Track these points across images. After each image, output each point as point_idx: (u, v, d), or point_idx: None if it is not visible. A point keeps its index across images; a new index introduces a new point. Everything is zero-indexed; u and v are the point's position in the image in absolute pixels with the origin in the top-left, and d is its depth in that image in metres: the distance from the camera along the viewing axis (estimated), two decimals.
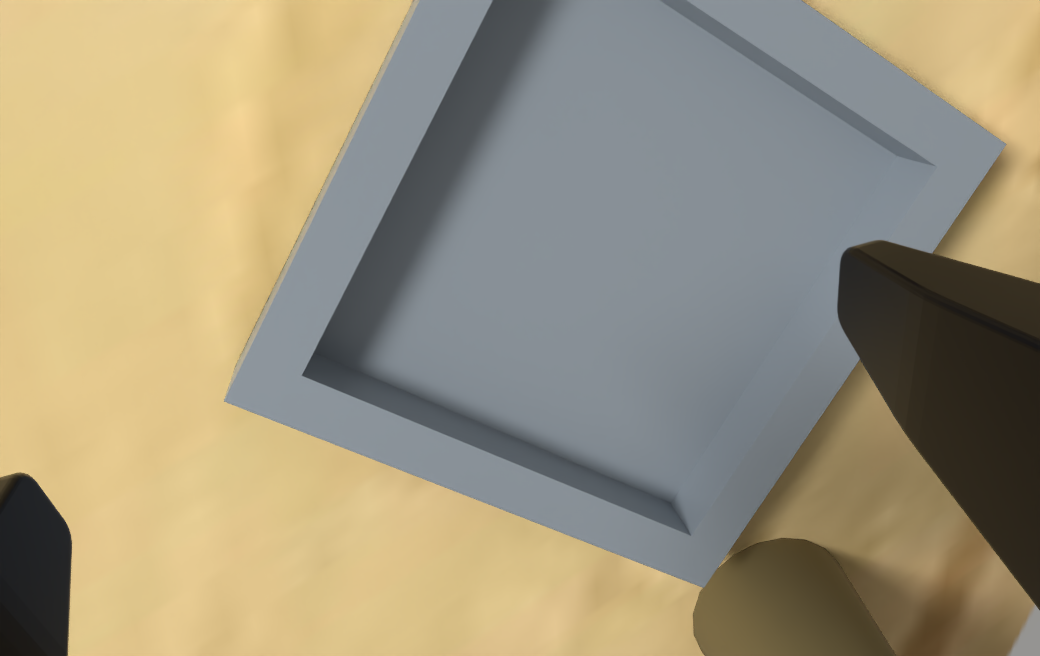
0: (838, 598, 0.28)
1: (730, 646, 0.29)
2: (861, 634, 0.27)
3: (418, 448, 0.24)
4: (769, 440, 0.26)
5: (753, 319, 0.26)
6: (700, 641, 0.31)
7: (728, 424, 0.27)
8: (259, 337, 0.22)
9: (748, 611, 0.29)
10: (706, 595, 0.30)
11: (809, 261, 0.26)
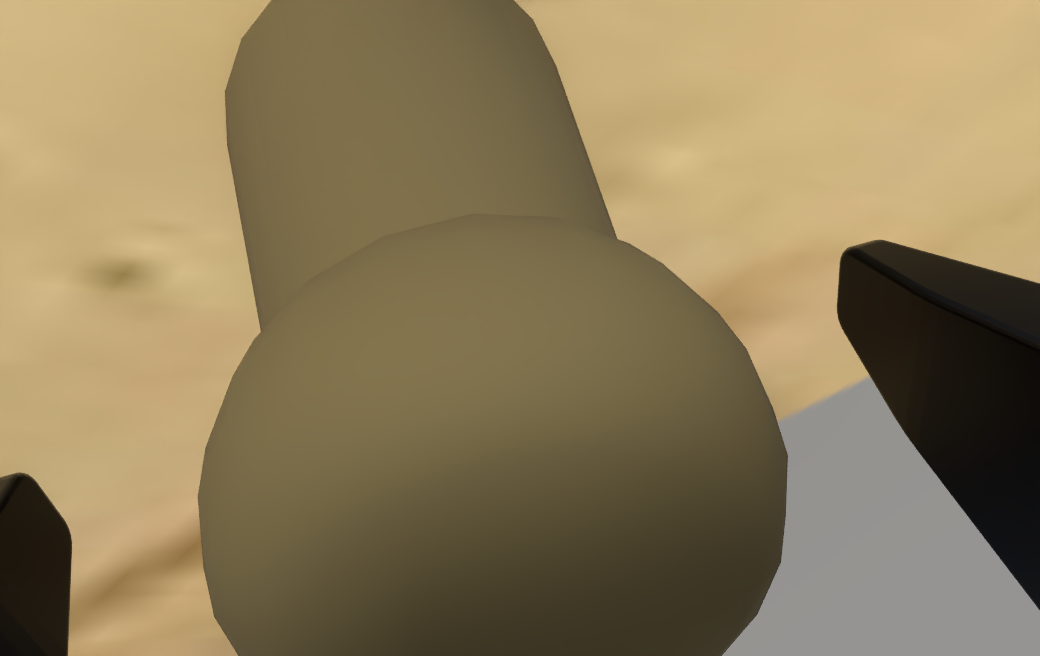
0: (575, 125, 0.13)
1: (318, 31, 0.12)
2: (592, 171, 0.12)
3: None
4: None
5: None
6: (246, 46, 0.13)
7: None
8: None
9: (410, 0, 0.12)
10: None
11: None
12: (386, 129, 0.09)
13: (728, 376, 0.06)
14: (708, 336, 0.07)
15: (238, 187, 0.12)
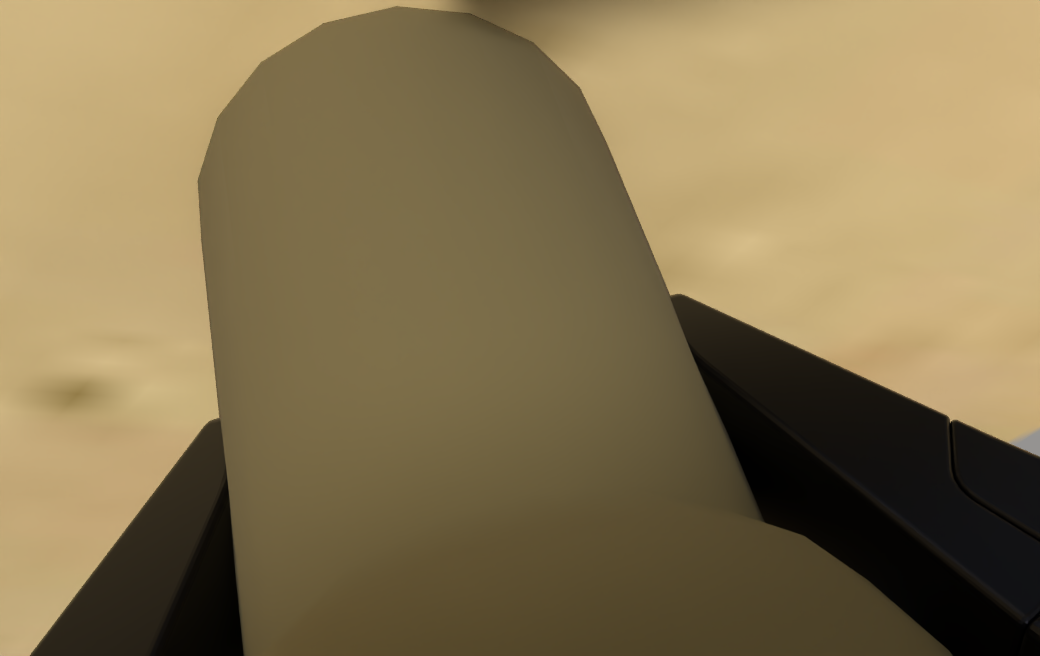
0: (643, 233, 0.10)
1: (313, 124, 0.09)
2: None
3: None
4: None
5: None
6: (223, 129, 0.11)
7: None
8: None
9: (433, 83, 0.09)
10: (337, 30, 0.10)
11: None
12: (411, 298, 0.07)
13: None
14: None
15: None
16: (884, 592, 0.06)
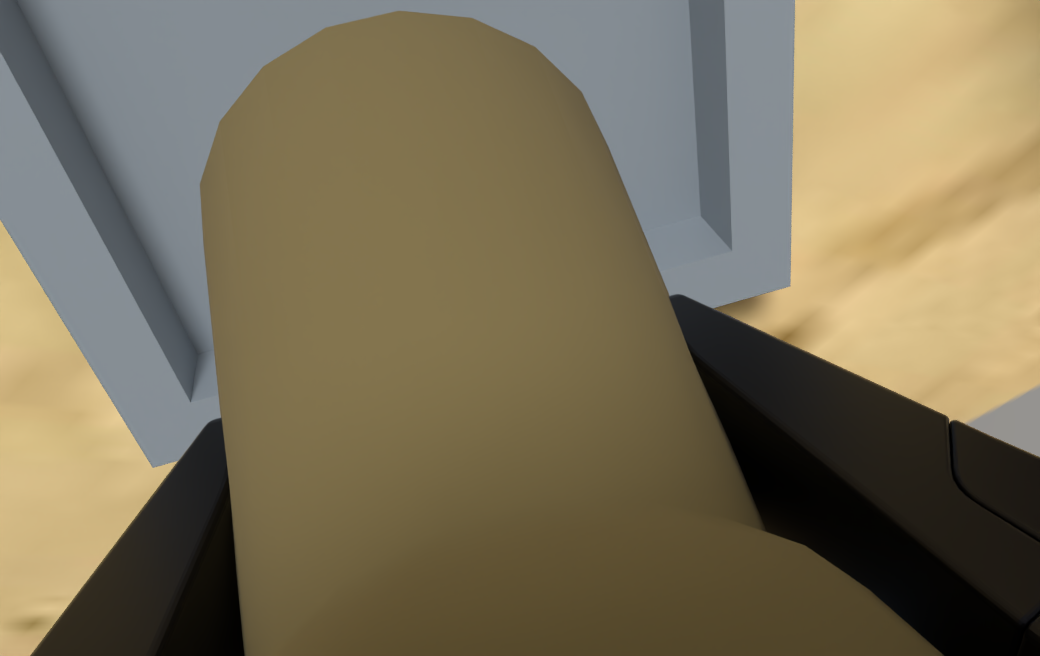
0: None
1: (315, 129, 0.09)
2: None
3: None
4: None
5: None
6: (225, 133, 0.11)
7: None
8: None
9: (435, 88, 0.09)
10: (339, 34, 0.10)
11: None
12: (413, 304, 0.07)
13: None
14: None
15: (212, 326, 0.10)
16: (883, 593, 0.06)
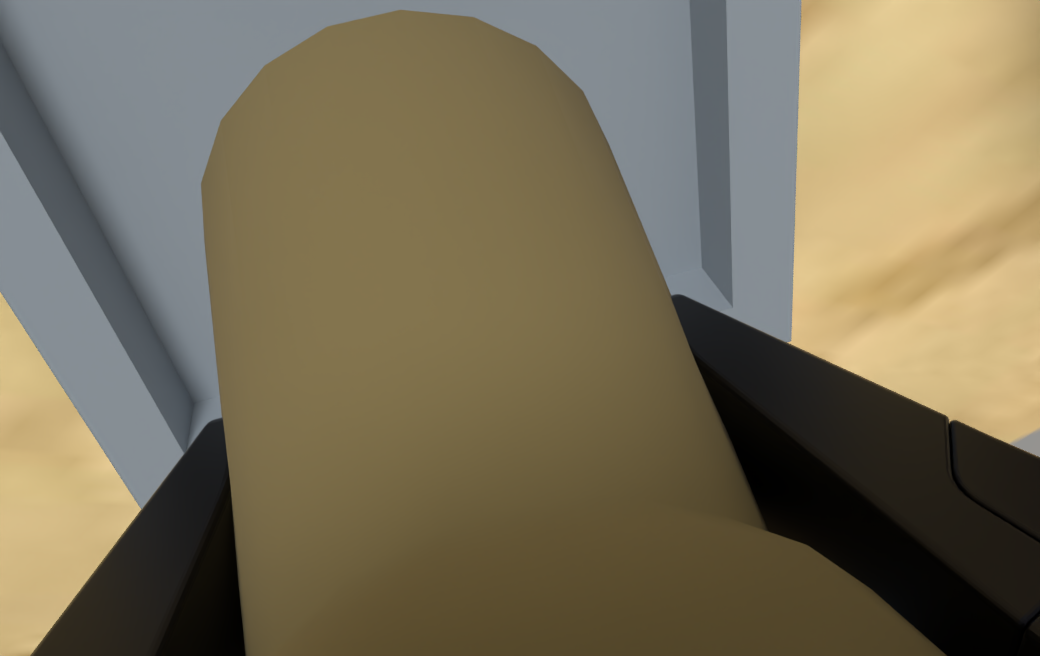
0: (647, 238, 0.10)
1: (317, 127, 0.09)
2: None
3: None
4: None
5: None
6: (226, 133, 0.11)
7: None
8: None
9: (436, 87, 0.09)
10: (340, 34, 0.10)
11: None
12: (414, 304, 0.07)
13: None
14: None
15: (213, 325, 0.10)
16: (884, 593, 0.06)
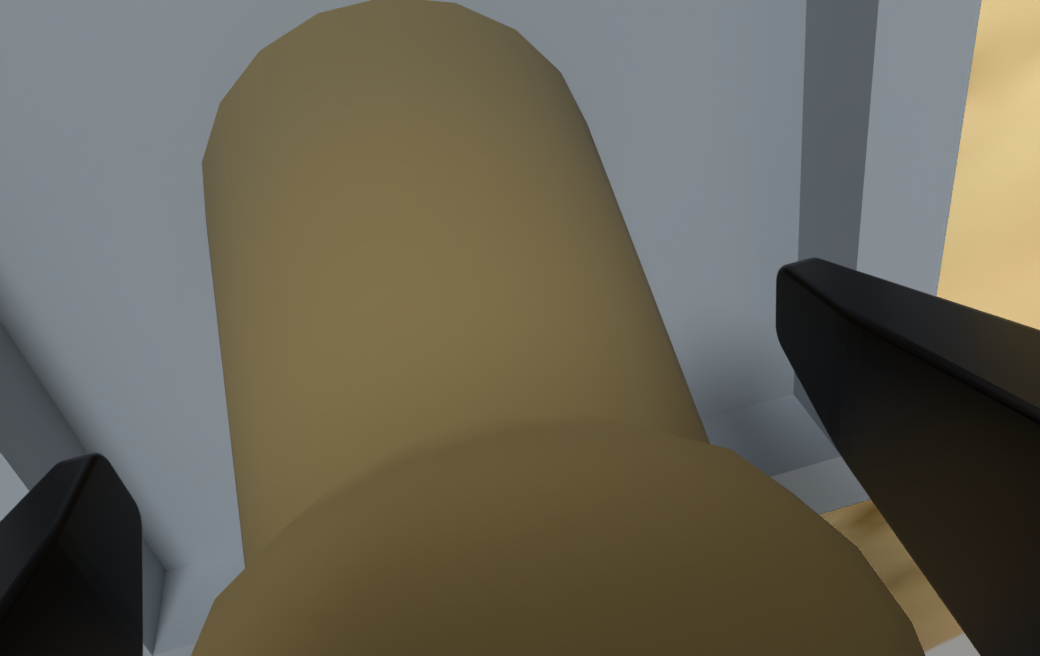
0: (618, 207, 0.11)
1: (308, 105, 0.10)
2: (644, 274, 0.10)
3: None
4: None
5: None
6: (225, 113, 0.11)
7: None
8: None
9: (419, 66, 0.10)
10: (330, 19, 0.11)
11: None
12: (393, 255, 0.07)
13: None
14: (875, 639, 0.04)
15: (214, 290, 0.10)
16: None
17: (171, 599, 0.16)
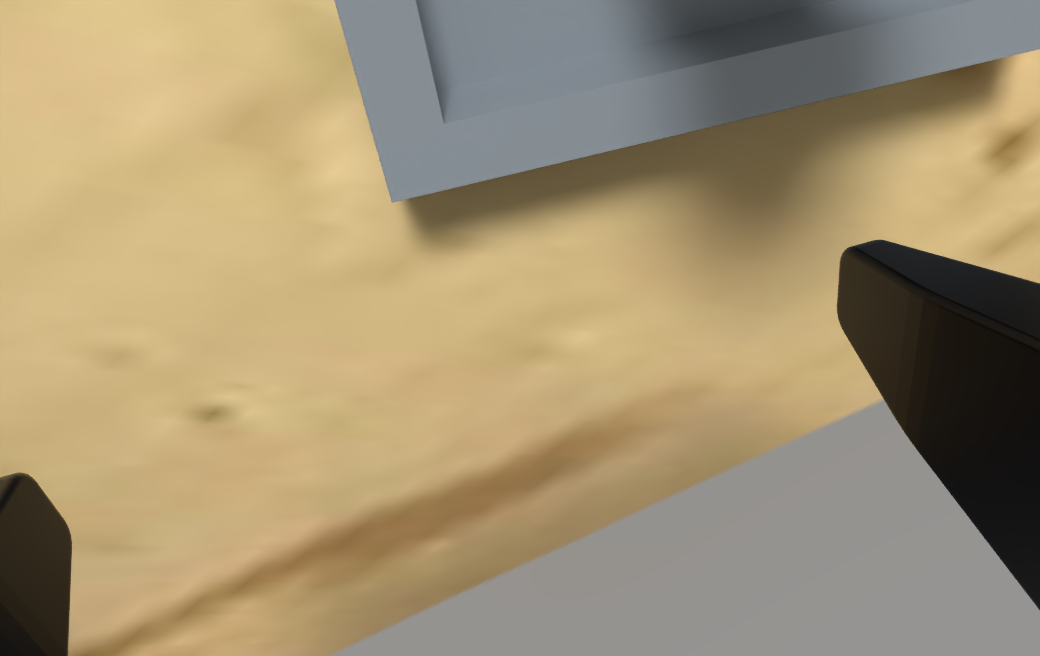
0: None
1: None
2: None
3: None
4: (621, 102, 0.18)
5: None
6: None
7: (579, 63, 0.19)
8: None
9: None
10: None
11: None
12: None
13: None
14: None
15: None
16: None
17: (446, 102, 0.19)
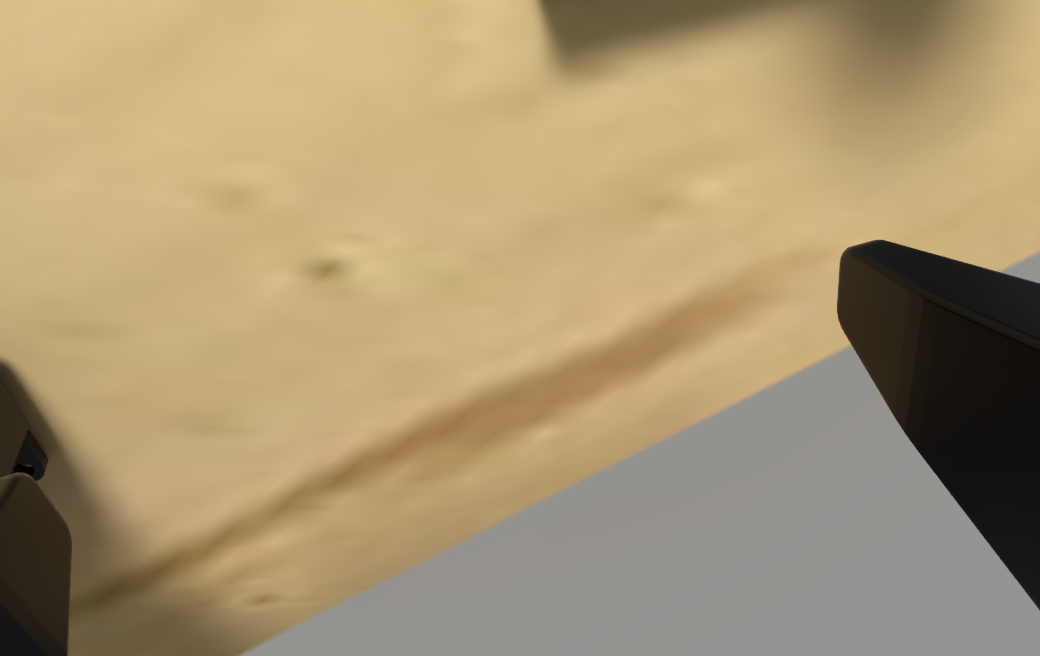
0: None
1: None
2: None
3: None
4: None
5: None
6: None
7: None
8: None
9: None
10: None
11: None
12: None
13: None
14: None
15: None
16: None
17: None
